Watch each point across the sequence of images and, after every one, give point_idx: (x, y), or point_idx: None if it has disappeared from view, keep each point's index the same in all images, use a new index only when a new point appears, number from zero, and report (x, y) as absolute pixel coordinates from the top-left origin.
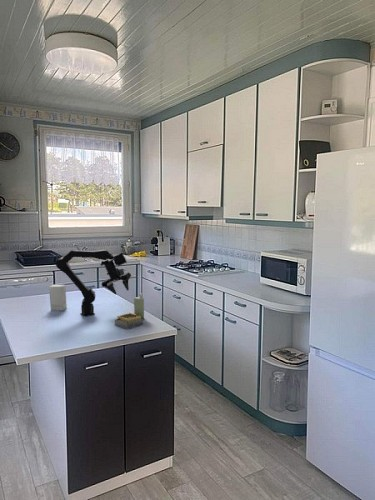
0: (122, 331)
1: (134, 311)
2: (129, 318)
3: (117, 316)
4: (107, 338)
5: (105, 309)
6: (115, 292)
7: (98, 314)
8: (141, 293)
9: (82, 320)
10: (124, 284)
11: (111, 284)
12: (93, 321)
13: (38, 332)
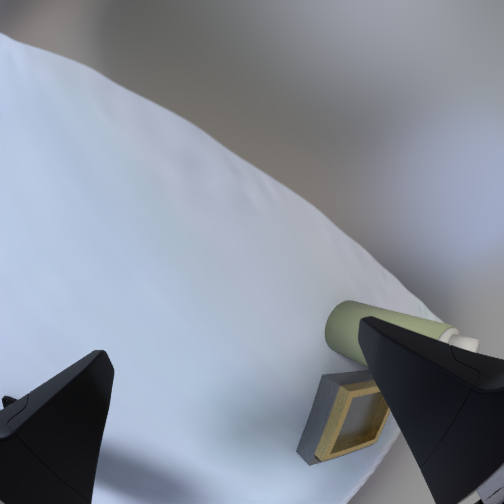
0: (353, 453)
1: (363, 364)
2: (377, 433)
3: (322, 460)
4: (341, 494)
5: (12, 282)
6: (99, 375)
7: None
8: (477, 347)
9: (120, 496)
10: (431, 453)
11: (7, 487)
12: (175, 485)
13: None
